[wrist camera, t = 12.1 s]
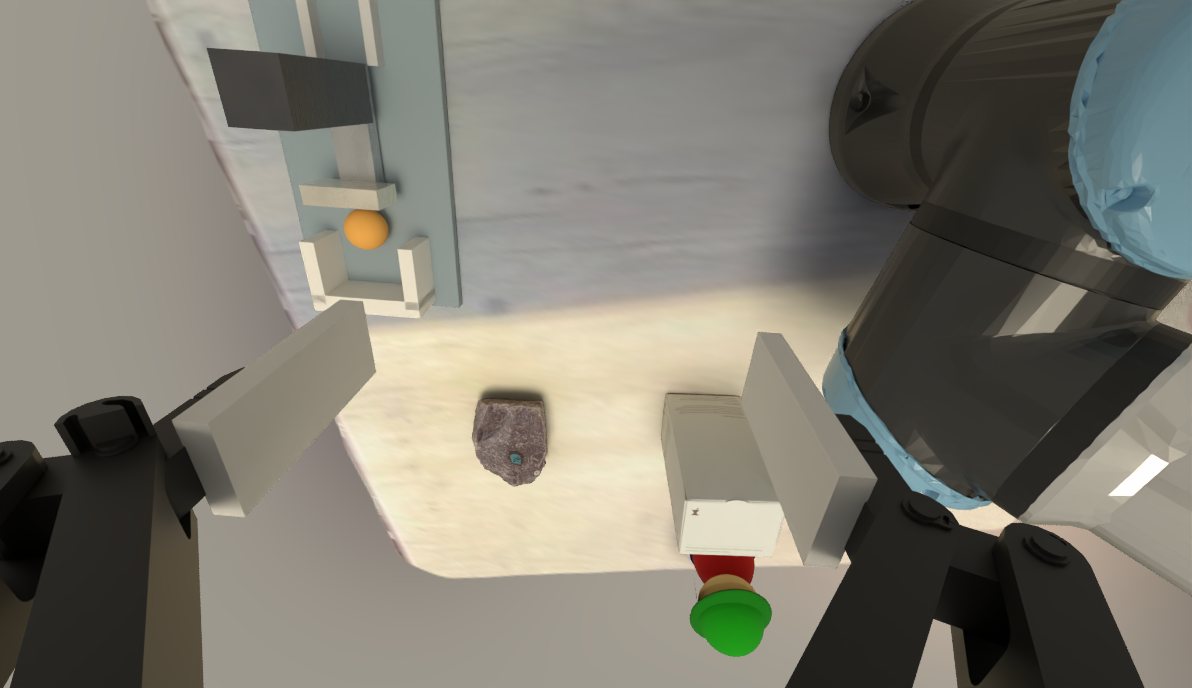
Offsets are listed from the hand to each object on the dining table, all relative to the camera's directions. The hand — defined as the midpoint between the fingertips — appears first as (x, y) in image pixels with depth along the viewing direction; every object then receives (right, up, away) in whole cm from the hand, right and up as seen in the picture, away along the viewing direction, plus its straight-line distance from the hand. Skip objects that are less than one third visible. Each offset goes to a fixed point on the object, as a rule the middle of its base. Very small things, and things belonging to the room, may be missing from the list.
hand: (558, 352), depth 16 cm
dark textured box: (-18, +18, +23) cm, 34 cm away
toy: (+16, -23, +44) cm, 52 cm away
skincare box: (+13, -8, +36) cm, 39 cm away
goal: (-19, +8, +28) cm, 35 cm away
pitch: (-18, +20, +23) cm, 35 cm away
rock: (-8, -9, +38) cm, 40 cm away
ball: (-19, +10, +25) cm, 33 cm away
